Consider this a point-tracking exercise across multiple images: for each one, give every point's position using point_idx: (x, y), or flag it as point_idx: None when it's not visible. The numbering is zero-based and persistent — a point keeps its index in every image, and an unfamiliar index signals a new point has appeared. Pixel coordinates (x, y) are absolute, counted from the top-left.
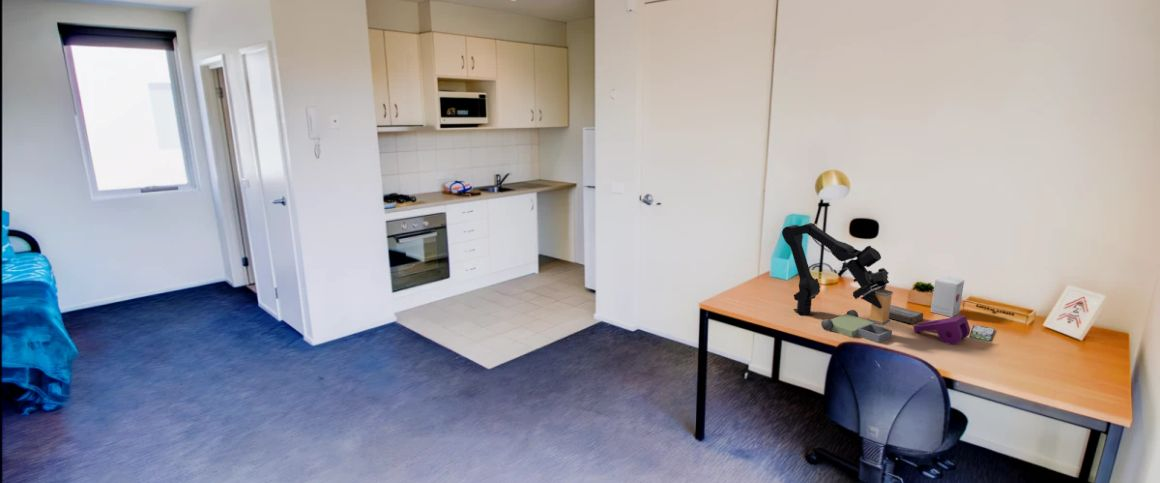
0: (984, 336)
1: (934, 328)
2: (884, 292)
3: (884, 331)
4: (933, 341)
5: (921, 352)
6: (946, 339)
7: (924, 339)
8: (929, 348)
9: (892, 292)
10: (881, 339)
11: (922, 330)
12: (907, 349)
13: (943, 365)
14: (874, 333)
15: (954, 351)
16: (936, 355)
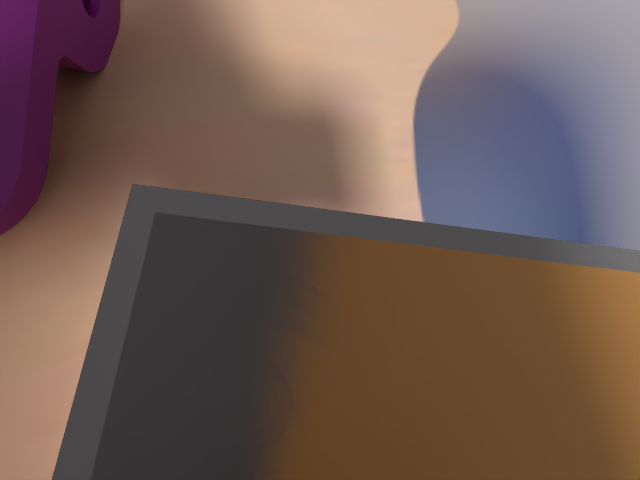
0: None
1: (51, 57)
2: (619, 461)
3: None
4: (132, 108)
5: (366, 124)
6: (101, 35)
7: (132, 153)
8: (272, 105)
9: (169, 208)
10: None
11: (44, 158)
12: (384, 189)
13: (439, 28)
14: None
15: (221, 11)
16: (346, 65)
